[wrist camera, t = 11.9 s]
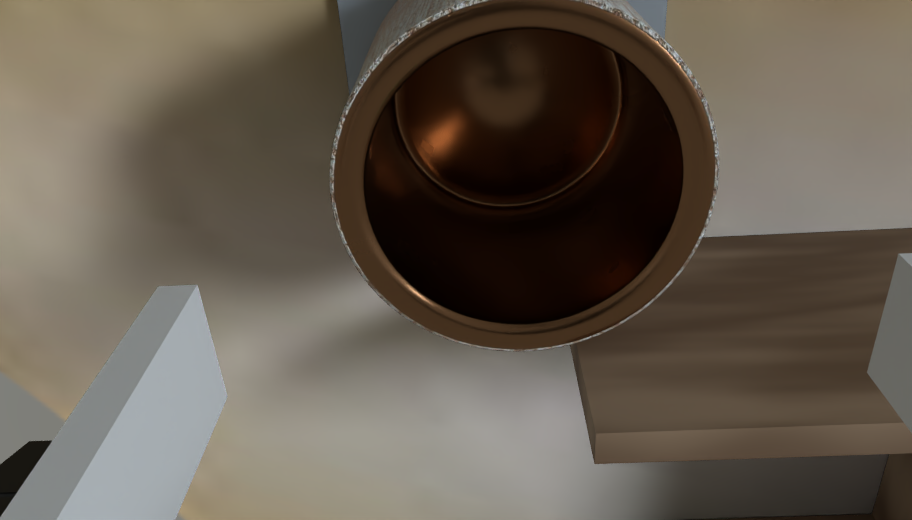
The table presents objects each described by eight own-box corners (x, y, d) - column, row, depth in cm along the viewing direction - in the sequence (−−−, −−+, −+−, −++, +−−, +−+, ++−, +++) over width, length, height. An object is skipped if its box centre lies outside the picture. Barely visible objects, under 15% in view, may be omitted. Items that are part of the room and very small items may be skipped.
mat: (330, -63, 27) (329, -62, 26) (670, -85, 26) (673, -84, 26) (369, 236, 33) (368, 240, 32) (648, 223, 32) (650, 227, 32)
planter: (326, 161, 30) (273, 279, 22) (432, -112, 26) (416, -95, 17) (564, 259, 32) (599, 401, 24) (703, 22, 28) (808, 97, 19)
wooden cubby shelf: (554, 244, 33) (595, 433, 22) (984, 224, 32) (1239, 410, 21) (553, 539, 41) (582, 774, 31) (889, 529, 41) (1036, 766, 30)
